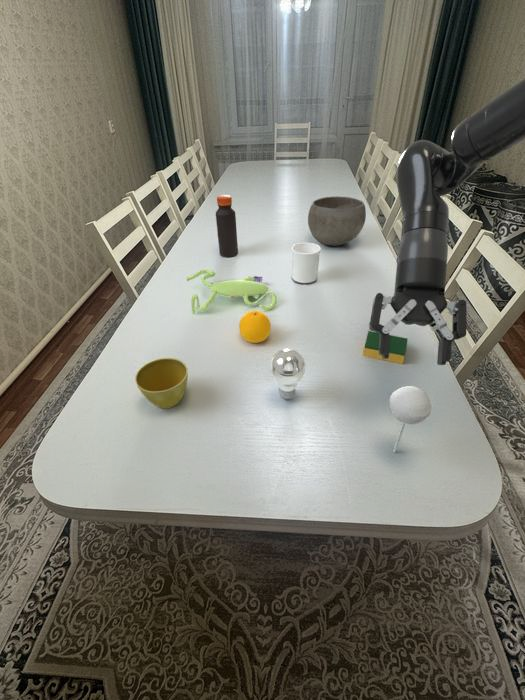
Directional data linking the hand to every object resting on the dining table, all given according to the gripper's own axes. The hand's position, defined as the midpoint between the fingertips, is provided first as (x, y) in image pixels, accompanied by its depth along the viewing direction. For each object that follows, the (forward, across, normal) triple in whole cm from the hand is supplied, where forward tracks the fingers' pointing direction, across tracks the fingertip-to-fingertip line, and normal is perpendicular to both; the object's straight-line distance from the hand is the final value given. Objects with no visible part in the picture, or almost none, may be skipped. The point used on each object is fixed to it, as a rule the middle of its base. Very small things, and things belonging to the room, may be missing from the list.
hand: (413, 361), depth 57 cm
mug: (-30, -22, +53) cm, 65 cm away
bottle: (-40, -52, +63) cm, 91 cm away
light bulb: (+9, -21, +15) cm, 27 cm away
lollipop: (+15, 0, +8) cm, 18 cm away
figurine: (-18, -44, +42) cm, 63 cm away
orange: (-5, -32, +29) cm, 43 cm away
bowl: (-52, -15, +75) cm, 93 cm away
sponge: (-5, 0, +28) cm, 29 cm away
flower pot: (+12, -45, +12) cm, 48 cm away
